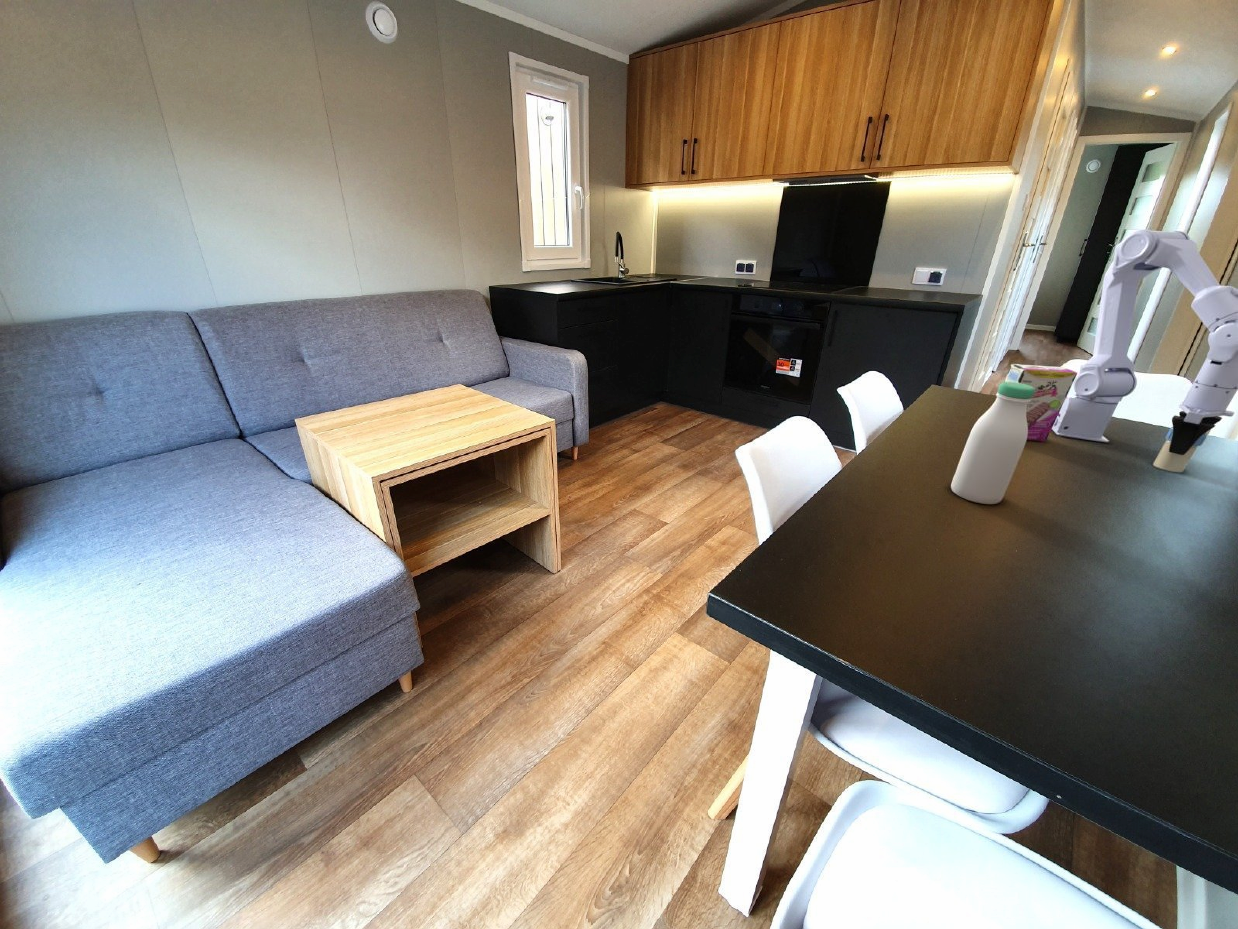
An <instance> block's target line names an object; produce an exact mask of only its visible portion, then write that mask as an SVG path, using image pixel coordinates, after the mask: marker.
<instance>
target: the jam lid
mask: <svg viewBox="0 0 1238 929" xmlns="http://www.w3.org/2000/svg"><path fill="white" fill-rule="evenodd" d="M1172 435H1173V426H1171V427H1170V428H1169V429H1168V431H1167V433H1166V434H1165V436H1164V438H1165V439H1166V440H1170V441H1171V439H1172ZM1207 437H1208V434H1207V432H1206V433H1204V434H1203V435H1202V436H1201V437H1200V438H1199V439H1198V440H1197V441H1196V442H1195V443H1194V445H1193V446H1198V447H1201V446H1202V445H1203V444H1204V443H1205V440H1207Z"/></svg>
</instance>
